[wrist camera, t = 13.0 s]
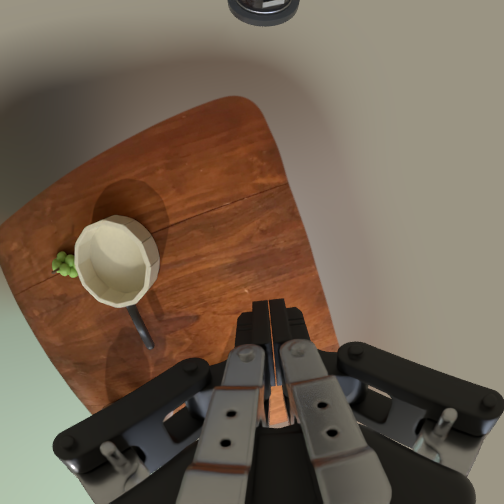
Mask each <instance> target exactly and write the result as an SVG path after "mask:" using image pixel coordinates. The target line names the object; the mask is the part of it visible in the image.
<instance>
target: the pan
mask: <svg viewBox="0 0 504 504" xmlns="http://www.w3.org/2000/svg"><path fill="white" fill-rule="evenodd" d="M159 263H160V258H159V252H158V249H157V245H156V243H155V241H154V239H153V237H152V236H151V234H150V233H149V231H148V230H147V229H146V228H145V227H144V226H143V225H142V224H140V223H139V222H137V221H136V220H135V219H132V218H129V217H126V216H119V215H113V216H110V217H108V218H105V219H103V220H101V221H98V222H96V223H93V224H91V225H89V226H86V227H85V228H84V230H83V231H82V233H81V235H80V236H79V238H78V240H77V242H76V243H75V268H76V271H77V273H78V275H79V278H80V280H81V282H82V285H84V288H85V289H86V290H87V291H88V292H89V293H90V294H91V295H92V296H94V297H95V298H96V299H97V300H98V301H99V302H102V303H104V304H107V305H110V306H113V307H116V308H120V307H125V306H126V308H127V310H128V312H129V314H130V316H131V318H132V320H133V322H134V324H135V326H136V328H137V330H138V332H139V334H140V336H141V338H142V340H143V342H144V344H145V346H146V347H147V349H149V350H151V349H153V348H154V346H155V345H154V342H153V340H152V338H151V336H150V334H149V332H148V330H147V328H146V326H145V324H144V322H143V320H142V318H141V316H140V314H139V312H138V309H137V307H136V305H135V304H136V303H137V302H138V301H139V300H140V299H141V298H142V296H143V295H144V294H145V293H146V292H147V291H148V289H149V288H150V287H151V286H152V284H153V283H154V282H155V281H156V279H157V275H158V271H159Z"/></svg>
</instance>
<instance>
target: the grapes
mask: <svg viewBox="0 0 504 504" xmlns="http://www.w3.org/2000/svg"><path fill="white" fill-rule="evenodd" d="M62 263H64V264H62ZM52 268H53V270H54V271H52V274H54V273H56V272H57V273H58V272H60V274H61V275H63V276H67V275H68V274H69V276H70V277H76V276H77V275H78V273H77V271H76V268H75V257H74V256H73V255H68V256H67V254H66V253H65V252H63V251H62V252H59V253H58V255H57V258H56V259H54V260H53V262H52Z"/></svg>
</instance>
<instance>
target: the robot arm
mask: <svg viewBox="0 0 504 504" xmlns="http://www.w3.org/2000/svg"><path fill="white" fill-rule="evenodd" d="M236 2H237V4H238V5H239V6H240V7H241V8H242V9H243V10H245V11H247V12H250V13H253V14H257V15H273V14H277V13H280V12H282V11H284V10H285V9H287V8H288V7H289V6H290V4H291V2H292V0H236ZM269 306H270V316H271V326H272V336H273V346H274V357H275V367H276V378H277V386H279V385H282V389H283V400H284V405H285V409H286V414H287V418H288V423H289V426H286V427H283V428H269V419H270V395H271V386H276V385H275V373H274V361H273V350H272V339H271V329H270V319H269V309H268V300H264V301H254V302H253V303H252V312H244V313H242V314H241V315H240V316H239V317H238V319H237V328H236V338H235V347H234V349H232V350H231V351H230V353H229V355H228V359H227V360H225V361H224V362H221V363H218V364H214V365H210V366H209V364H208V362H207V361H205V360H204V359H201V358H188V359H185V360H182V361H181V362H179V363H177V364H176V365H174V366H173V367H171V368H170V369H168V370H166V371H165V372H163V373H162V374H160V375H159V376H157V377H155V378H154V379H152V380H151V381H149V382H147V383H146V384H144V385H143V386H141V387H139V388H138V389H136V390H134V391H133V392H131V393H129V394H128V395H126V396H124V397H123V398H121V399H119V400H118V401H116V402H114V403H113V404H111V405H109V406H107V407H106V408H104V409H102V410H101V411H99V412H97V413H95V414H93V415H92V416H90V417H88V418H87V419H85V420H83V421H81V422H79V423H77V424H76V425H74V426H72V427H70V428H68V429H66V430H64V431H63V432H61V433H60V434H58V435H57V436H56V438H55V439H54V441H53V451H54V454H55V455H56V456H57V457H58V458H59V459H60V460H61V461H62V462H63V463H64V464H65V465H66V466H67V468H68V469H69V470H70V471H71V472H72V473H73V474H74V475H75V476H76V477H77V478H78V479H79V480H80V482H81V484H82V485H83V487H84V488H85V490H86V491H87V493H88V494H89V496H90V497H91V499H92V500H93V502H94V503H95V504H475V503H476V495H475V490H474V487H473V485H472V483H471V482H470V480H469V479H468V478H467V476H468V474H469V472H470V470H471V468H472V466H473V463H474V461H475V459H476V457H477V455H478V453H479V450H480V448H481V445H482V443H483V440H484V439H485V438H486V436H487V435H488V434H489V432H490V431H491V429H492V428H493V427H494V425H495V424H496V422H497V421H498V419H499V418H500V416H501V414H502V413H503V411H504V399H503V397H502V396H501V395H500V394H499V393H498V392H497V391H495V390H492V389H489V388H486V387H483V386H480V385H476V384H473V383H471V382H468V381H465V380H462V379H459V378H456V377H453V376H450V375H447V374H445V373H442V372H439V371H436V370H434V369H431V368H428V367H426V366H423V365H420V364H417V363H415V362H412V361H409V360H407V359H404V358H401V357H399V356H396V355H394V354H391V353H389V352H386V351H384V350H381V349H378V348H376V347H373V346H371V345H368V344H366V343H363V342H349V343H346V344H344V345H342V346H341V347H340V348H339V349H338V352H325V351H321V350H319V349H317V348H316V346H315V344H314V343H313V342H311V340H310V337H309V334H308V330H307V327H306V324H305V321H304V317H303V314H302V312H301V311H300V310H299V309H298V308H296V307H291V308H286V306H285V302H284V298H282V299H273V300H269ZM368 385H370V386H372V387H374V388H376V389H378V390H381V391H383V392H385V393H387V394H388V395H390V397H391V398H392V399H390V398H388V397H386V396H383V395H381V394H379V393H377V392H375V391H373V390H371V389H368ZM184 402H185V404H186V406H185V407H184V408H182V409H181V410H180V411H178V412H177V413H175V414H174V415H173V416H171V417H170V418H168V419H167V420H165V421H164V419H165V417H166V416H167V415H168V414H169V413H170V412H172V411H173V410H175V409H176V408H178V407H179V406H180V405H182V404H183V403H184ZM357 421H358V422H360V423H362V424H364V425H366V426H364V425H361V424H358V423H357ZM382 434H383V435H382ZM384 435H385V436H384ZM386 436H387V437H386ZM388 437H389V438H388ZM198 438H199V440H197V439H198ZM390 438H391V439H390ZM392 439H393V440H395V441H397V442H399V443H401V444H403V445H406V446H408V447H410V448H412V449H413V450H411V449H409V448H407V447H405V446H403V445H401V444H399V443H397V442H395V441H393V440H392ZM196 440H197V441H196ZM161 466H162V467H161ZM158 468H159V469H158ZM157 469H158V470H157ZM154 471H155V472H154ZM153 472H154V473H153ZM151 473H152V474H151ZM150 474H151V475H150Z"/></svg>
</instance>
